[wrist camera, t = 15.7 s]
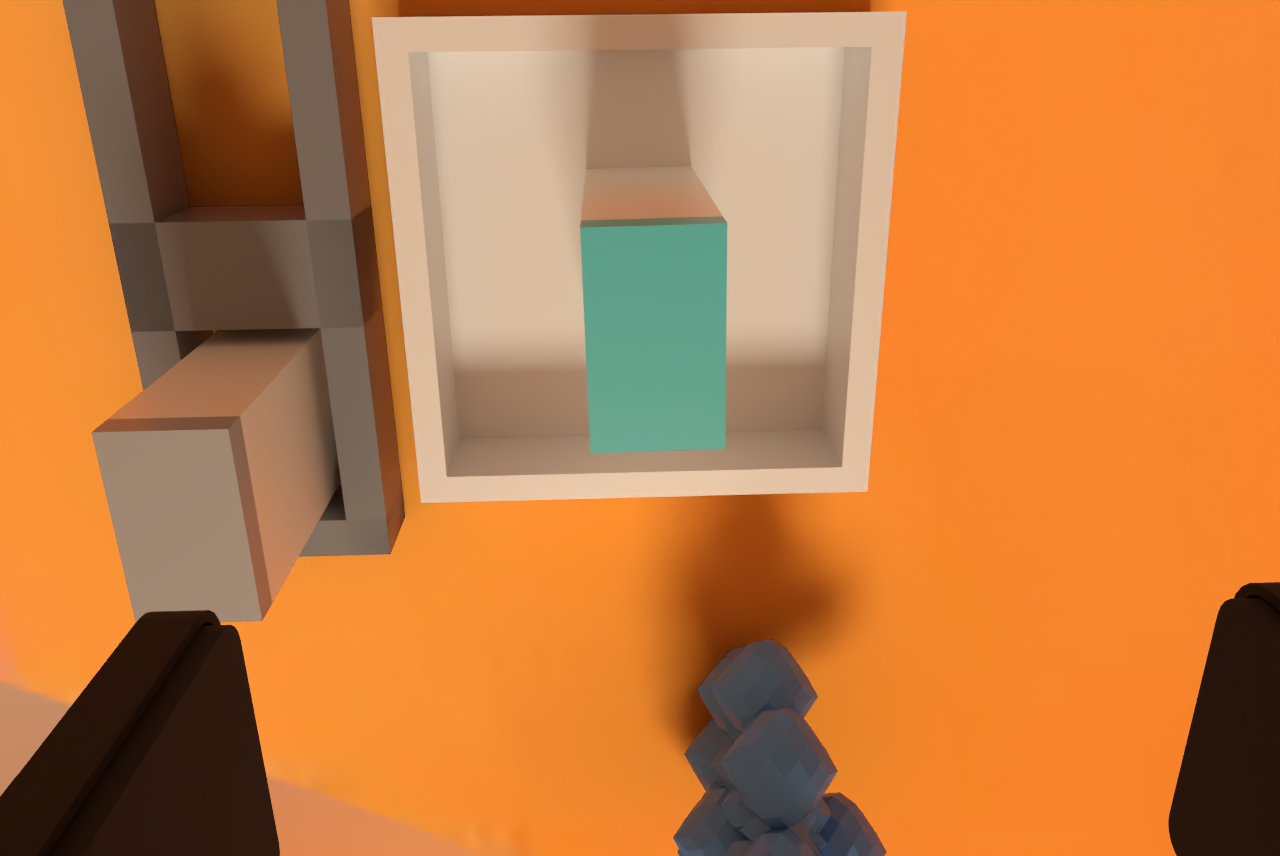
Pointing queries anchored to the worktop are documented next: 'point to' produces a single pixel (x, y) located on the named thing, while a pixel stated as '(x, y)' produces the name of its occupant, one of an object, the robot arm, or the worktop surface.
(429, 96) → the tray
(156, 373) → the frame
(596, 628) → the worktop surface
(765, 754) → the grapes
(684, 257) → the block
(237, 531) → the block
